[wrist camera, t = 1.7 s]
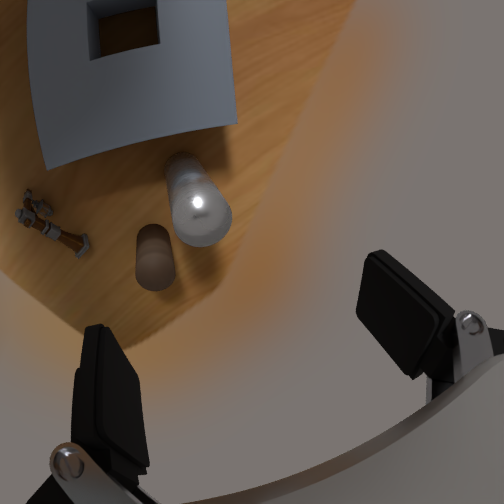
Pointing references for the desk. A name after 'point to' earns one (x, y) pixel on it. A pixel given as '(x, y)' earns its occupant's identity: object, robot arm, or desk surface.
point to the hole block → (126, 75)
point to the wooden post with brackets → (49, 225)
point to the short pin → (154, 258)
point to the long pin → (195, 202)
